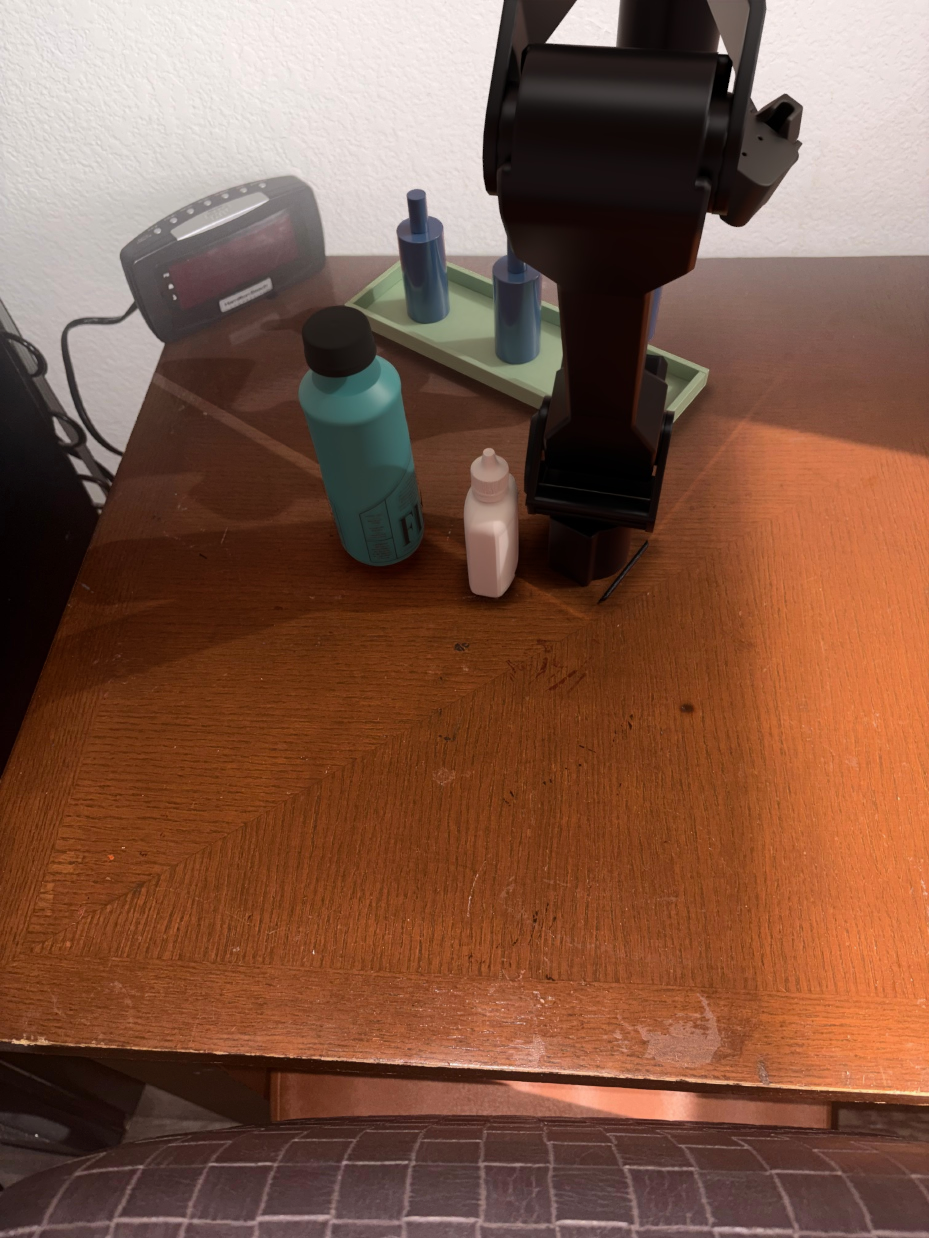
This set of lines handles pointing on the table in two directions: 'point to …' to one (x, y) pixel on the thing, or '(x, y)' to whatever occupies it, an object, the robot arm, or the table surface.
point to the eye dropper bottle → (491, 525)
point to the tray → (471, 339)
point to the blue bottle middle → (516, 309)
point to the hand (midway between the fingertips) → (635, 290)
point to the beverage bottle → (360, 437)
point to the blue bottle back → (423, 262)
